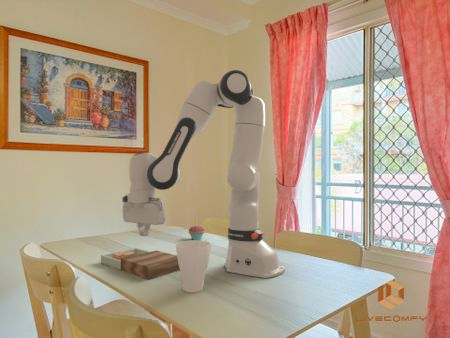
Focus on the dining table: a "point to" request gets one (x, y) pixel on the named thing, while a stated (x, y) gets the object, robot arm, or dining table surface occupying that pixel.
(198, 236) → the cupcake
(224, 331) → the dining table surface
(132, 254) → the tile
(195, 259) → the cup
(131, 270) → the board
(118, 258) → the tile
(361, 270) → the dining table surface
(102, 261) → the tray
